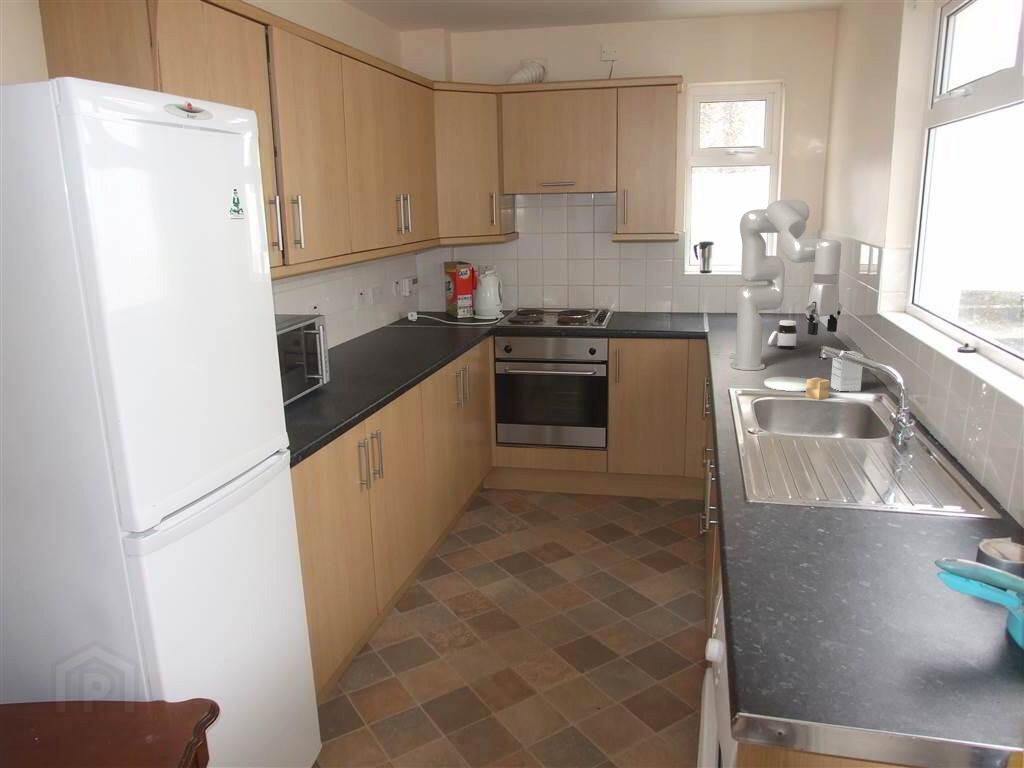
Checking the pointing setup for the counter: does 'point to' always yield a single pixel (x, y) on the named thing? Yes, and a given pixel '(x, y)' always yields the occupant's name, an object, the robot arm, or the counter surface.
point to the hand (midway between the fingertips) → (822, 333)
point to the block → (817, 388)
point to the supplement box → (846, 374)
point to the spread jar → (784, 335)
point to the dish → (786, 383)
